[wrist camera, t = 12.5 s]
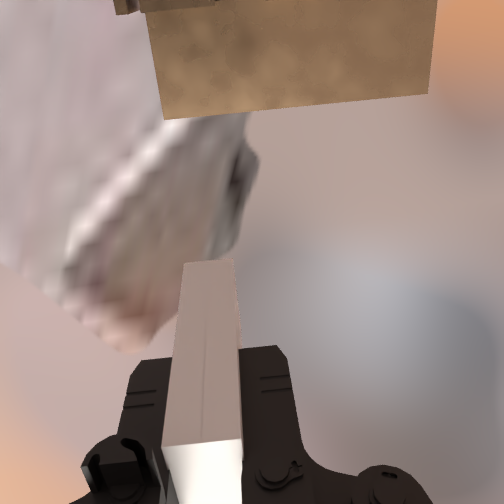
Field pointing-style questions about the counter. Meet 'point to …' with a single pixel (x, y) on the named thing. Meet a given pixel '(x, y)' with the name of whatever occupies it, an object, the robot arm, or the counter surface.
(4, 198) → the counter surface
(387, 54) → the brown board
